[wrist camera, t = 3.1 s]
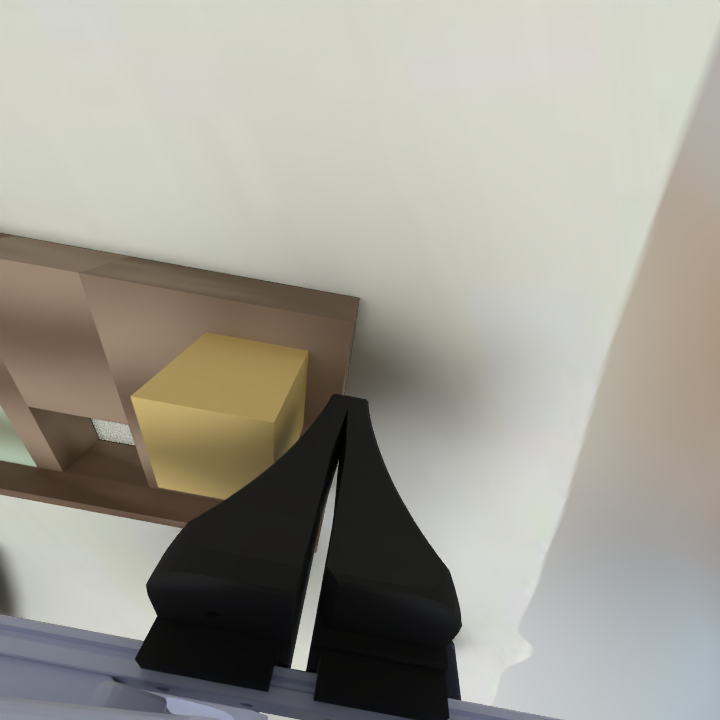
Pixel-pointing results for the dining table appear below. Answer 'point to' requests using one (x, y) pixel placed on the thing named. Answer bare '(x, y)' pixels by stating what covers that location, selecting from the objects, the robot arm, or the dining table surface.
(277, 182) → the dining table surface
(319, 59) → the dining table surface
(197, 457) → the block
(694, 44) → the dining table surface
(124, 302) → the tray
